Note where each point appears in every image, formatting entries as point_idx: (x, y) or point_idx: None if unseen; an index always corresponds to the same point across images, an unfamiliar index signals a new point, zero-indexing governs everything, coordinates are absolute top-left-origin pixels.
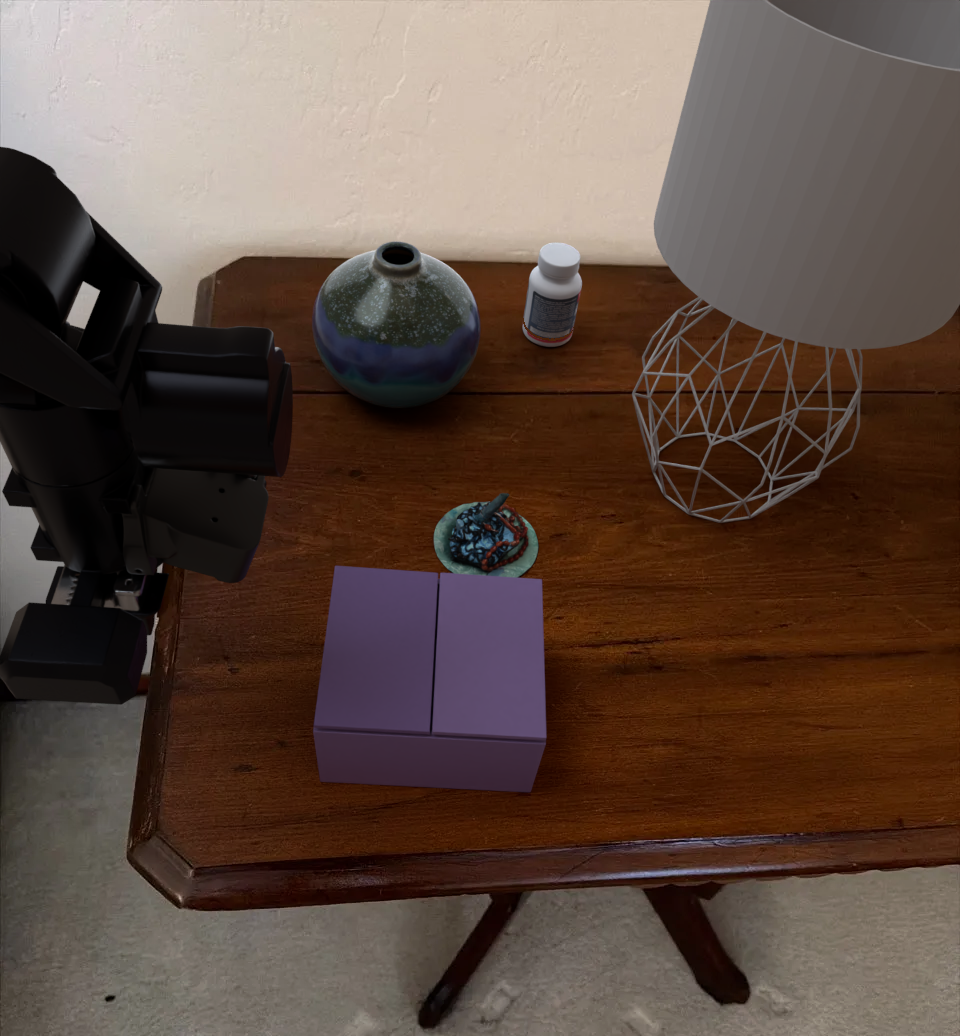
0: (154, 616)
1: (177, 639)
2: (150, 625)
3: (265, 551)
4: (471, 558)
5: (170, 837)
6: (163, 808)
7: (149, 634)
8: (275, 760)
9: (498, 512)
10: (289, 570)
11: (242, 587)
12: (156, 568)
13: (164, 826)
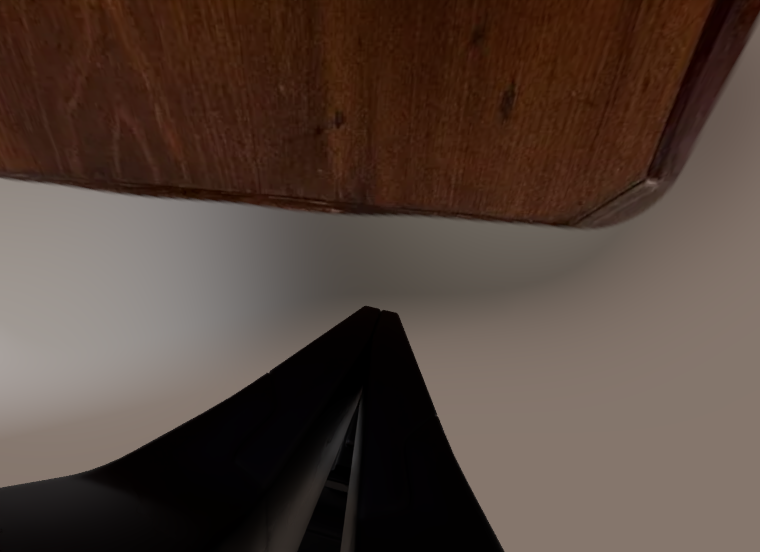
0: (354, 316)
1: (291, 197)
2: (400, 341)
3: (131, 67)
4: None
5: (584, 208)
6: (538, 216)
7: (399, 319)
8: (506, 48)
9: None
10: (155, 22)
11: (200, 106)
12: (216, 431)
13: (565, 215)
